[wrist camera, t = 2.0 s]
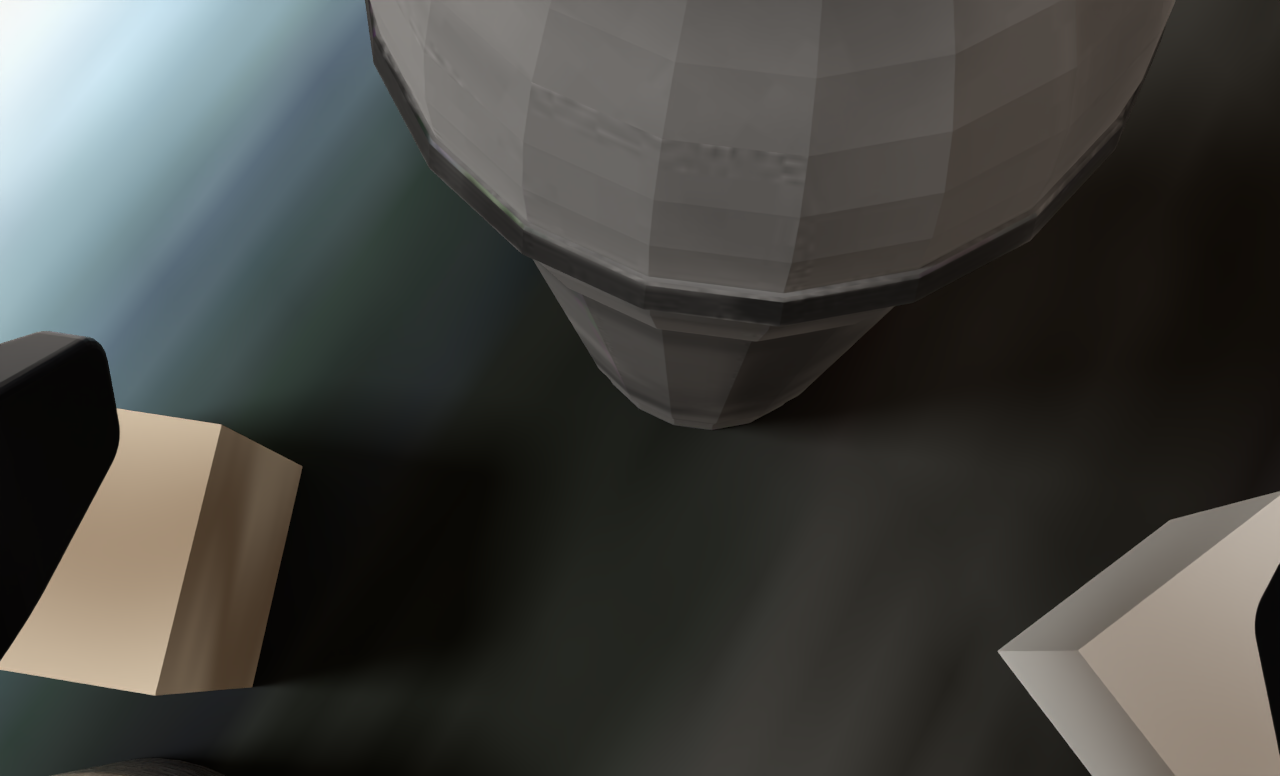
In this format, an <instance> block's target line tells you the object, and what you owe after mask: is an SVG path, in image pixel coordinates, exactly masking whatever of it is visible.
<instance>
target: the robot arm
mask: <svg viewBox="0 0 1280 776" xmlns="http://www.w3.org/2000/svg"><path fill="white" fill-rule="evenodd" d="M119 440H120V425H119V419H118V414H117V408H116V403H115V398H114V392H113V387H112V381H111V376H110V371H109V365H108V360H107V357H106V353H105V351H104V349H103V347H102V346H101V344H99V343H98V342H97V341H96V340H94V339H93V338H90V337H85V336H78V335H72V334H65V333H58V332H52V331H41V332H36V333H33V334H30V335H26V336H23V337H20V338H17V339H13V340H10V341H7V342H4V343H1V344H0V661H1V660H2V658H3V657H4V655H5V654H6V652H7V651H8V649H9V648H10V646H11V645H12V643H13V642H14V640H15V639H16V637H17V636H18V634H19V632H20V631H21V629H22V628H23V626H24V625H25V623H26V622H27V620H28V618H29V617H30V615H31V613H32V612H33V610H34V608H35V606H36V605H37V603H38V601H39V600H40V598H41V596H42V594H43V593H44V591H45V589H46V587H47V585H48V583H49V581H50V580H51V578H52V576H53V574H54V572H55V570H56V568H57V566H58V565H59V563H60V561H61V559H62V557H63V555H64V553H65V551H66V549H67V548H68V546H69V544H70V542H71V540H72V538H73V536H74V534H75V533H76V531H77V529H78V527H79V525H80V523H81V521H82V519H83V517H84V516H85V514H86V512H87V510H88V508H89V506H90V504H91V502H92V501H93V499H94V497H95V495H96V493H97V491H98V489H99V487H100V485H101V484H102V482H103V480H104V478H105V476H106V474H107V472H108V470H109V469H110V467H111V465H112V463H113V461H114V458H115V456H116V453H117V450H118V446H119ZM1255 637H1256V643H1257V648H1258V652H1259V657H1260V662H1261V667H1262V672H1263V677H1264V682H1265V686H1266V691H1267V696H1268V701H1269V706H1270V711H1271V716H1272V720H1273V725H1274V730H1275V735H1276V740H1277V745H1278V750H1279V755H1280V563H1279V565H1278V567H1277V569H1276V571H1275V573H1274V574H1273V576H1272V578H1271V580H1270V582H1269V584H1268V586H1267V588H1266V590H1265V591H1264V593H1263V595H1262V597H1261V599H1260V602H1259V604H1258V607H1257V611H1256V616H1255Z"/></svg>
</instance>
